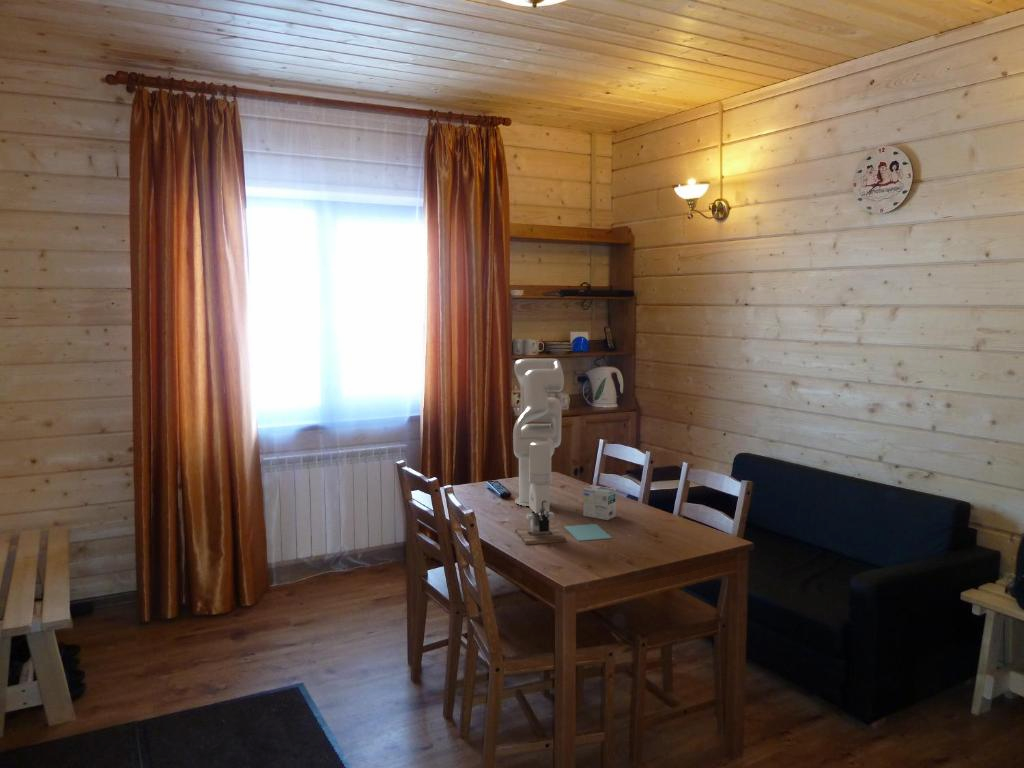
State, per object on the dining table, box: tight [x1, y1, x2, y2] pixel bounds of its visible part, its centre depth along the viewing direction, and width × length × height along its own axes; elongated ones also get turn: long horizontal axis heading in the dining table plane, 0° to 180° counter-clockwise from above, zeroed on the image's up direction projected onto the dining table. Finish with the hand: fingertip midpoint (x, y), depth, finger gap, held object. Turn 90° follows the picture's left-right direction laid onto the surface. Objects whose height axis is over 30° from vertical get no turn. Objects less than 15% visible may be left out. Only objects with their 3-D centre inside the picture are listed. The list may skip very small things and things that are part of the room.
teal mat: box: [563, 523, 613, 542], centre depth 264 cm, size 16×12×1 cm
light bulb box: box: [582, 484, 617, 521], centre depth 283 cm, size 11×7×11 cm, turn 56°
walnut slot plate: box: [514, 525, 567, 545], centre depth 260 cm, size 14×14×1 cm
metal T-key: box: [525, 511, 555, 536], centre depth 259 cm, size 3×9×8 cm, turn 103°
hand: (540, 527), depth 260 cm, fingers open, 9 cm apart
